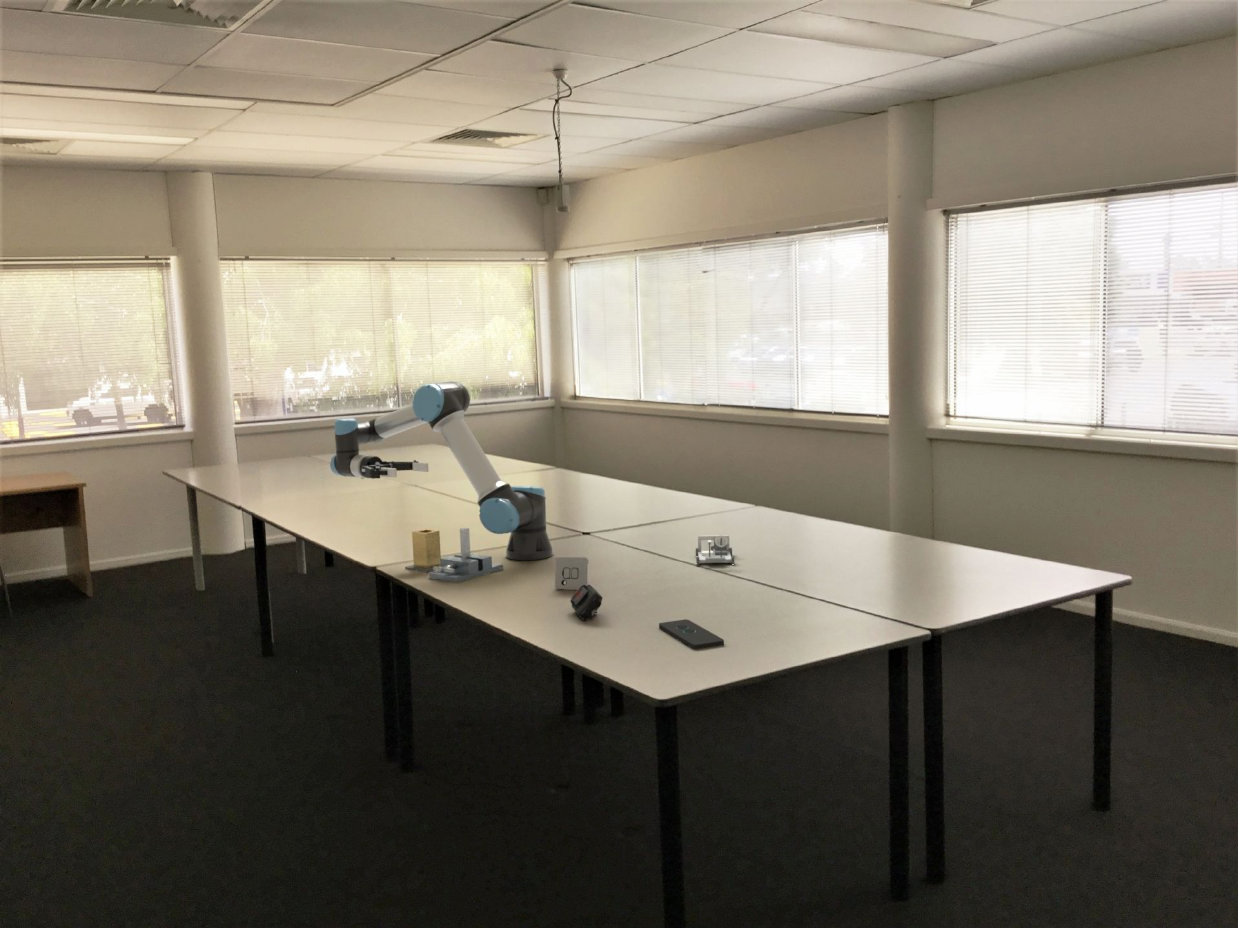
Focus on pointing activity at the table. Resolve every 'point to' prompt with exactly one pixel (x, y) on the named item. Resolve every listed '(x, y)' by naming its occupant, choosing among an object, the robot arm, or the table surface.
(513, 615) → the table surface
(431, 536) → the brass sleeve
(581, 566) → the electrical switch
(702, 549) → the grey toy rover
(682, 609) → the table surface
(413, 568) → the rubber mat
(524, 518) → the robot arm
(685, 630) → the smart home device
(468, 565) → the vise
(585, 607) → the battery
